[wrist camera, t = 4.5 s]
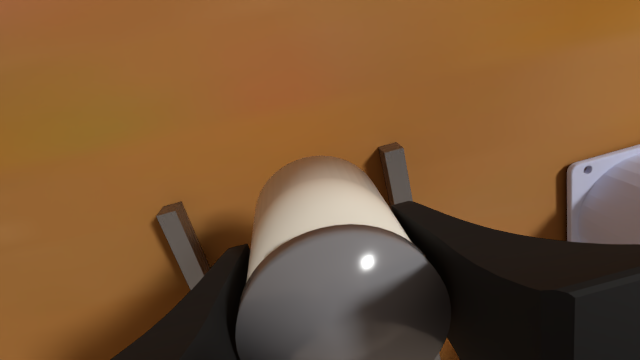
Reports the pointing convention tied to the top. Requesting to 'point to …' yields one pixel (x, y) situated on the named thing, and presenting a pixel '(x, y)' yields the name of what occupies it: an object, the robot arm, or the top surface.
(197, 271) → the lane
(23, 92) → the top surface
